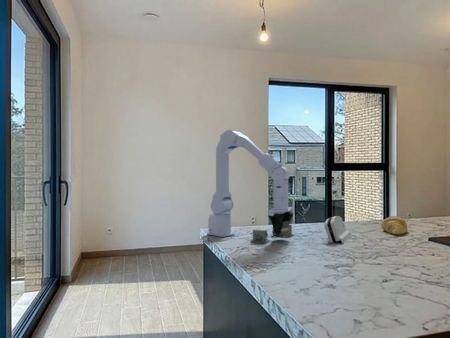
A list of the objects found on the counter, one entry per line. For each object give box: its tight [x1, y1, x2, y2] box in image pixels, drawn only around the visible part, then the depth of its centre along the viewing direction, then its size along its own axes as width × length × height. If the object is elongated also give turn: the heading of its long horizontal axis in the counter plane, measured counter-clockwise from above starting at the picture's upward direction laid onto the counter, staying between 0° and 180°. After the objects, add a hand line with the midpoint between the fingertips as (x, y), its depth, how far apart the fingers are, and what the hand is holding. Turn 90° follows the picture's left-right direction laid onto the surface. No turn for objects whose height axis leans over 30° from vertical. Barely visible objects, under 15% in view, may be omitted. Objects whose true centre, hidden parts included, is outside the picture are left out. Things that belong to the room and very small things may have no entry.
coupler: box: [272, 220, 290, 239], centre depth 140 cm, size 5×5×6 cm
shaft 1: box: [250, 228, 270, 244], centre depth 140 cm, size 8×6×4 cm
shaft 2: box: [271, 223, 295, 237], centre depth 150 cm, size 8×6×4 cm
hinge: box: [324, 215, 352, 245], centre depth 142 cm, size 17×5×10 cm, turn 151°
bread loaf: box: [380, 215, 408, 235], centre depth 156 cm, size 21×10×8 cm, turn 161°
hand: (281, 232), depth 140 cm, fingers closed on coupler, 5 cm apart
